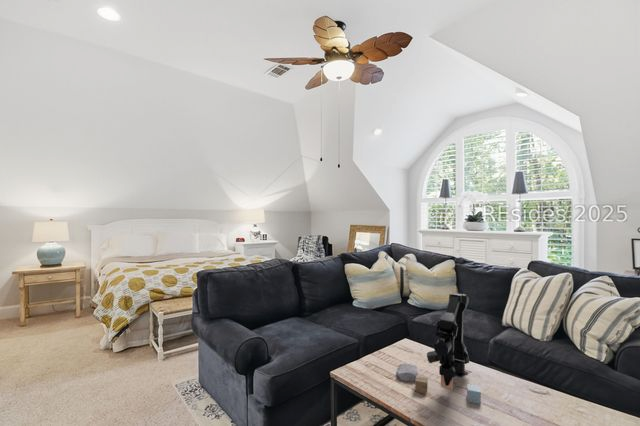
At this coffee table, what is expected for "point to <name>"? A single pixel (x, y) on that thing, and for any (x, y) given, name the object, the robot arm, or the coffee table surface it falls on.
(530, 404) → the coffee table surface
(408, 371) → the stone block
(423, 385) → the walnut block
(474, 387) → the slate blue block
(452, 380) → the terracotta block
